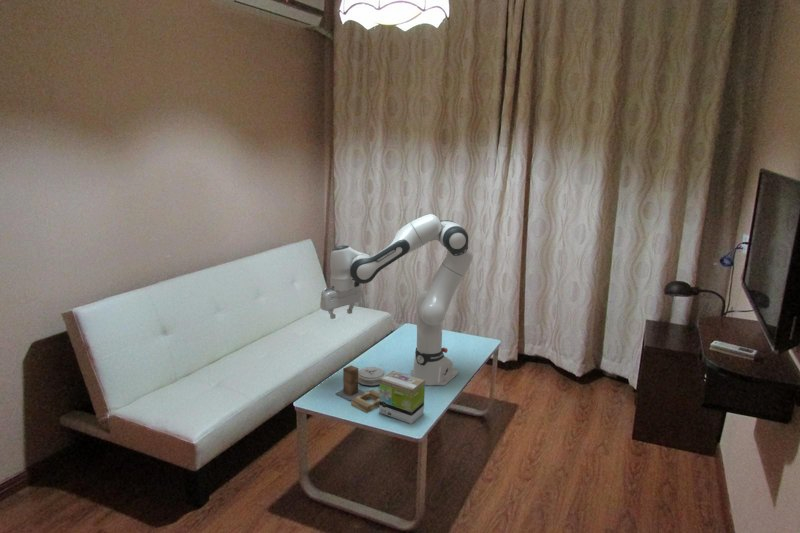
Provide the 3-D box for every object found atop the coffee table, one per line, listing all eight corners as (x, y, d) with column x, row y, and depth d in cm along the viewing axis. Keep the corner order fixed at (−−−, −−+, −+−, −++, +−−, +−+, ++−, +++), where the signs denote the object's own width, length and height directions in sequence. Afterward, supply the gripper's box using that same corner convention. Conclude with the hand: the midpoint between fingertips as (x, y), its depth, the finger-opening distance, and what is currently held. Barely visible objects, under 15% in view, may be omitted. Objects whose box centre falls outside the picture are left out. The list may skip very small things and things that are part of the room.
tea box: (378, 413, 203) (378, 378, 199) (392, 403, 211) (392, 369, 208) (411, 425, 195) (412, 388, 192) (424, 413, 204) (425, 378, 200)
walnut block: (351, 389, 221) (351, 365, 218) (358, 392, 218) (358, 368, 215) (343, 392, 218) (343, 368, 215) (350, 396, 215) (350, 371, 212)
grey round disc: (390, 377, 234) (390, 367, 233) (378, 389, 223) (378, 379, 222) (364, 372, 239) (364, 362, 238) (351, 384, 227) (351, 373, 226)
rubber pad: (351, 387, 224) (351, 385, 224) (365, 394, 218) (365, 392, 218) (335, 394, 218) (335, 392, 217) (350, 401, 212) (350, 400, 212)
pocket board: (372, 394, 218) (372, 389, 217) (388, 402, 212) (388, 396, 211) (351, 404, 209) (351, 399, 208) (367, 412, 203) (367, 407, 203)
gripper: (326, 290, 207) (327, 323, 210) (363, 281, 222) (363, 312, 225) (316, 287, 211) (317, 319, 215) (353, 278, 226) (353, 309, 229)
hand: (341, 315), depth 220 cm, fingers open, 8 cm apart
